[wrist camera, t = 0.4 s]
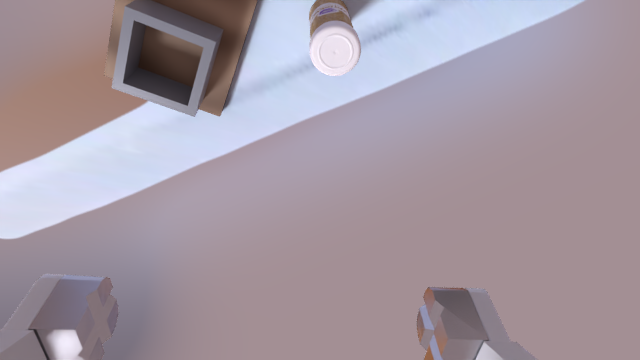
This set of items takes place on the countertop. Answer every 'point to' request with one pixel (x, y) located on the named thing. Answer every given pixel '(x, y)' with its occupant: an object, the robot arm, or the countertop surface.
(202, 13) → the wooden board
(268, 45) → the countertop surface
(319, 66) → the sprinkles bottle
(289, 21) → the countertop surface
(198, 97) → the grey square open box
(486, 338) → the robot arm
